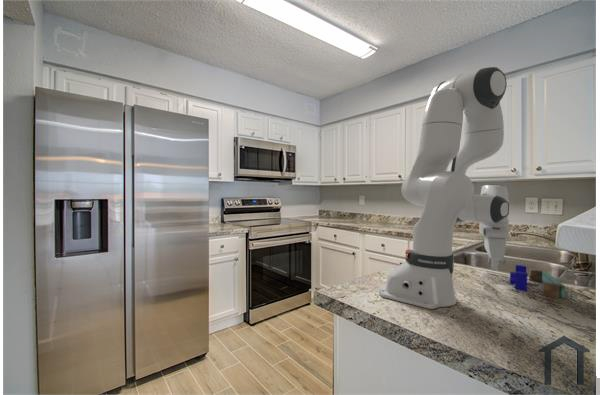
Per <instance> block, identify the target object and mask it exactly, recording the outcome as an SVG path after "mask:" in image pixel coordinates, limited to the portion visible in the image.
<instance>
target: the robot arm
mask: <svg viewBox="0 0 600 395" xmlns="http://www.w3.org/2000/svg"><path fill="white" fill-rule="evenodd" d="M506 90H507V78H506V75H505V73H504V72H503V71H502V69H500V68H498V67H495V66H494V67H491V66H489V67H483V68H481V69H479V70H476V71H475V70H474V71H471V72H468V73H462V74H459V75H457V76H455V77H452V78H449V79H448V80H444V81H442V82H440V83H439V84H437V85H436V86H434V87H433V89H432V91H431V93H430V96H429V98H428V100H427V103H426V105H425V108H424V109H425V110H424V113H423V118H422V124H421V132H420V138H419V146H418V152H417V155H416V158H415V161H414V163H413V166H412V168H411V170H410V173H409V174H408V176H407V177H406V178H405V179H404V180H403V182H402V184H401V190H400V191H401V195H402V197H403V198H404V199H405V200H406V201H407V202H409V203H411V204H413V205H415V206H418V207H423V208H422V213H421V215H420V218H419V220H418V221H417V222H416V223H415V224H414V226H413V229H412V231H413V232H412V249H411V248H407V249H405V261H404V262H402V263H401V264H399V265H397V266H396V267H394V268H393V269H391V270H390V271H389V273H388V275H387V277H386V281H385V282H383V283H382V284H380V287H379V289H378V293H379V295H380V296H381V297H382V298H386V299H390V300H393V301H398V302H401V303H405V304H410V305H413V306H418V307H421V308H426V309H428V310H434V309H438V308H441V307H442V308H443V307H451V306H454V305H455V304H457V302H458V301H457V296H456V292H455V287H454V280H453V273H454V268H455V266H454V265H455V259H454V254H453V241H454V240H453V237H454V236H453V235H454V229H455V225H456V222H460V223H461V222H467V223H468V222H469V223H470V222H471V223H478V224H479V225H478V226H479V227H478V233H479V234H481V235H482V237H483V239H484V241H483V242H484V243H483V244H484V246H483V247H484V249H485V251H486V254H487V262H488V264H490V265H491V270H492V271H495V272H498V271H499V266H500V261H501V262H502V261H504V259H505V255H506V247H507V239H508V238H509V230H510V229H509V226H510V224H509V223H510V222H509V215H510V200H509V192H508V188H507V186H505V185H503V184H495V183H492V184H491V183H490V184H483V185H482V186H481V189H480V194H475V186H474V184H473V181H472V180H471V178H470V177H469V176H468V175H467V174H466V173H467V170H468V169H469V168H470V167H471V166H472V165H474V164H476V163H479V162H481V161H484V160H486V159H488V158H490V157H492V156H494V155H496V154H497V152H499V151H500V149H501V148H502V146H503V144H504V138H505V137H504V135H505V132H504V131H505V129H504V128H505V127H504V115H503V111H502V106H501V100H502V99H503V97H504V95H505V93H506ZM463 120H464V122H463ZM463 124H464V125H463ZM462 129H463V133H464V134H463V142H462V144H461V139H462ZM450 164H451V168H450V171H449V170H448V167H449V166H450Z"/></svg>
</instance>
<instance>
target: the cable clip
mask: <svg viewBox="0 0 600 395" xmlns="http://www.w3.org/2000/svg"><path fill="white" fill-rule="evenodd" d="M509 284H510V285H515V286H514V287H515V290H516V291H520V292H521V291H522V292H527V291H528V272H527V265H521V264H515V272H514V271H510V278H509Z"/></svg>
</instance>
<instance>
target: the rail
mask: <svg viewBox="0 0 600 395" xmlns="http://www.w3.org/2000/svg"><path fill="white" fill-rule="evenodd" d="M528 273H529V274H528V280H529V281H530V282H537V283H541V284H543V296H544V297H547V298H548V297H549V298H554V299H562V300H565V292H566V286H565V285H564V284H563V283H562V282H560V281H559V280H558V279H557V278H555V277H554V276H553V275H551V274H550V273H549V272H548V271H547V270H542V269H532V268H529V272H528Z"/></svg>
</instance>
